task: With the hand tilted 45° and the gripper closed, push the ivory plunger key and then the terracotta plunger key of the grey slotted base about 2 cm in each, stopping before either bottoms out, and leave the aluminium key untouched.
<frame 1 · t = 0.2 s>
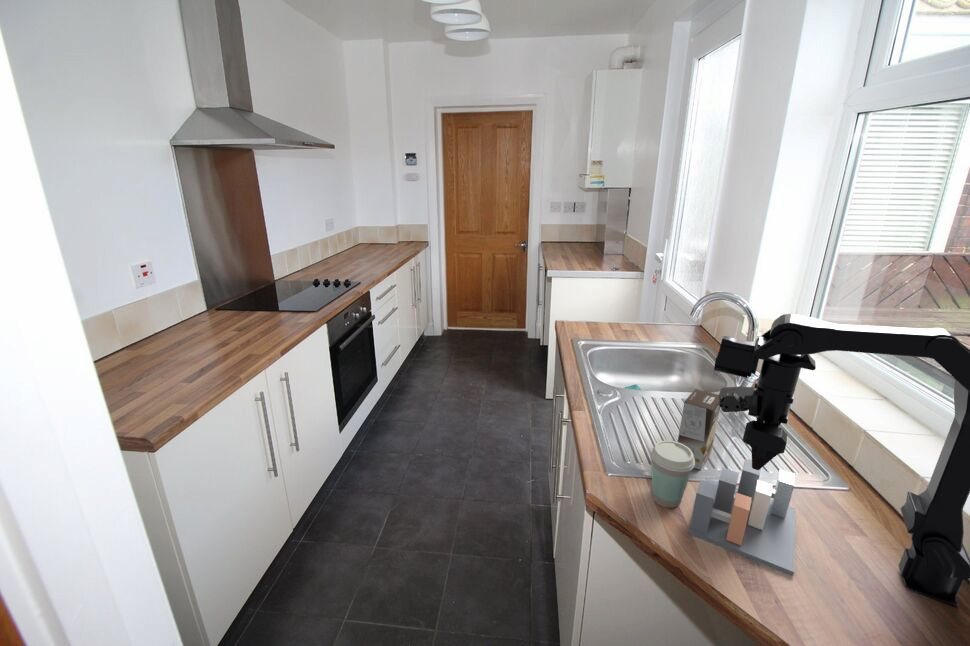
hand: (757, 456, 86), 15 cm above the worktop, tool pointing down, fingers open, 9 cm apart
grey slotted base: (743, 522, 89), on the worktop
ivory key: (746, 500, 88), point 5 cm above the worktop, slide at 0.0 cm
coffee box: (693, 457, 110), on the worktop
coffee cup: (665, 498, 96), on the worktop
terracotta key: (725, 513, 84), point 5 cm above the worktop, slide at 0.0 cm
aluminium key: (769, 489, 91), point 5 cm above the worktop, slide at 0.0 cm
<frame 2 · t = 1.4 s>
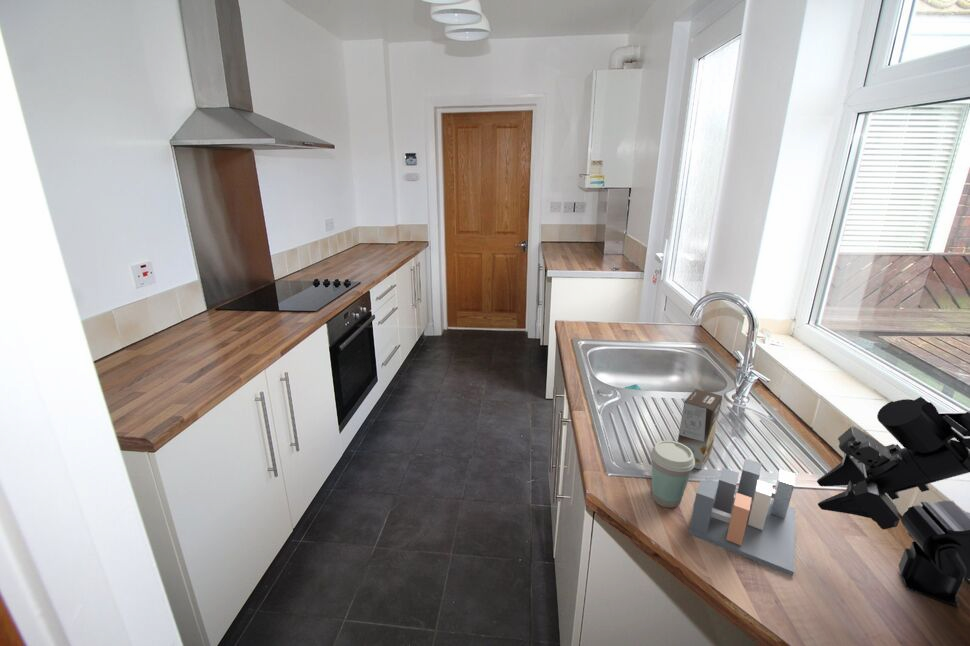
hand: (818, 494, 80), 11 cm above the worktop, tool tilted 45°, fingers open, 7 cm apart
nothing on the worktop moved.
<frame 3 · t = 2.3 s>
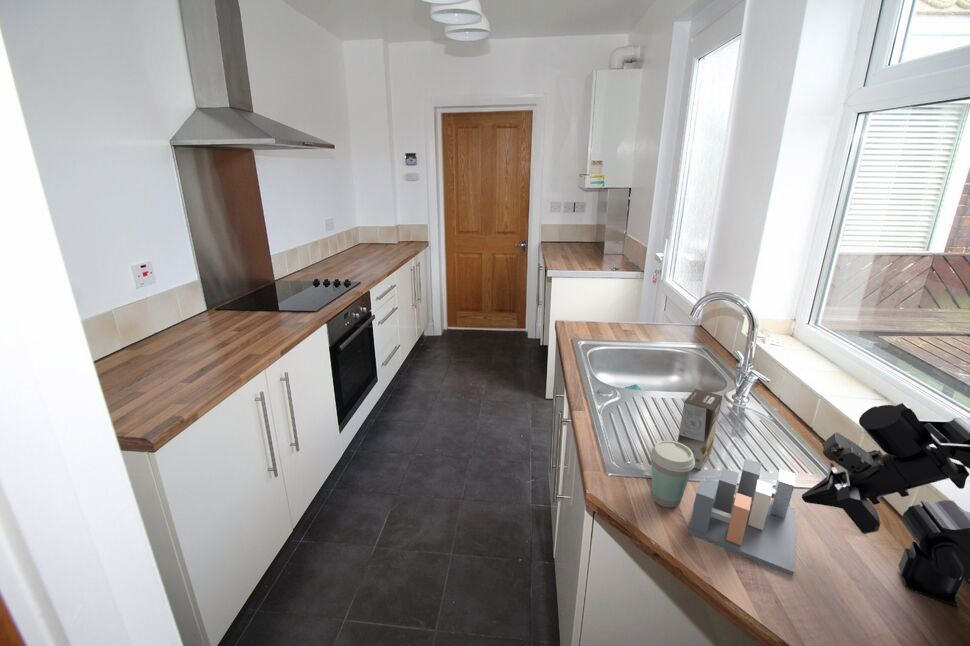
hand: (803, 498, 82), 10 cm above the worktop, tool tilted 45°, fingers closed
nothing on the worktop moved.
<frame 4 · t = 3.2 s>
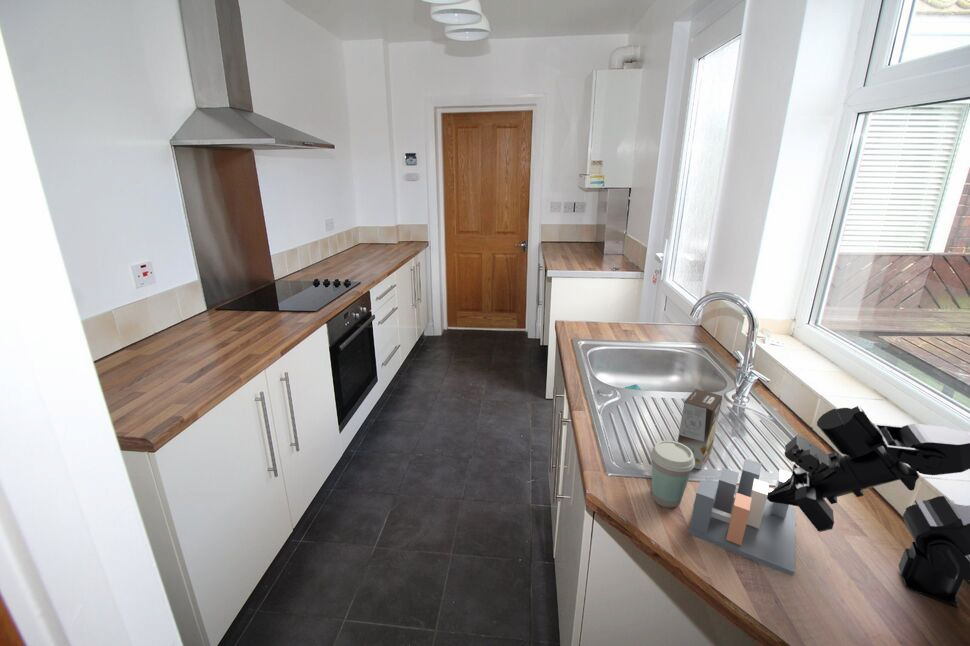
hand: (767, 498, 85), 7 cm above the worktop, tool tilted 45°, fingers closed, pressing on ivory key
ivory key: (743, 498, 88), point 5 cm above the worktop, slide at 0.6 cm, touching gripper
everything else where it was.
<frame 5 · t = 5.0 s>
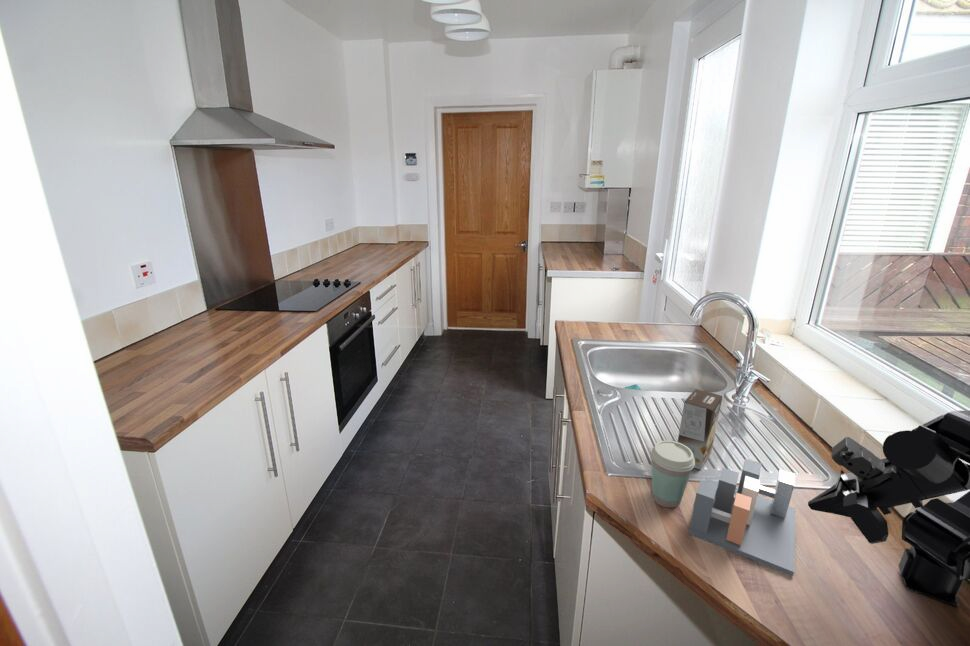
hand: (809, 505, 78), 11 cm above the worktop, tool tilted 45°, fingers closed
ivory key: (735, 495, 89), point 5 cm above the worktop, slide at 2.1 cm
everything else where it was.
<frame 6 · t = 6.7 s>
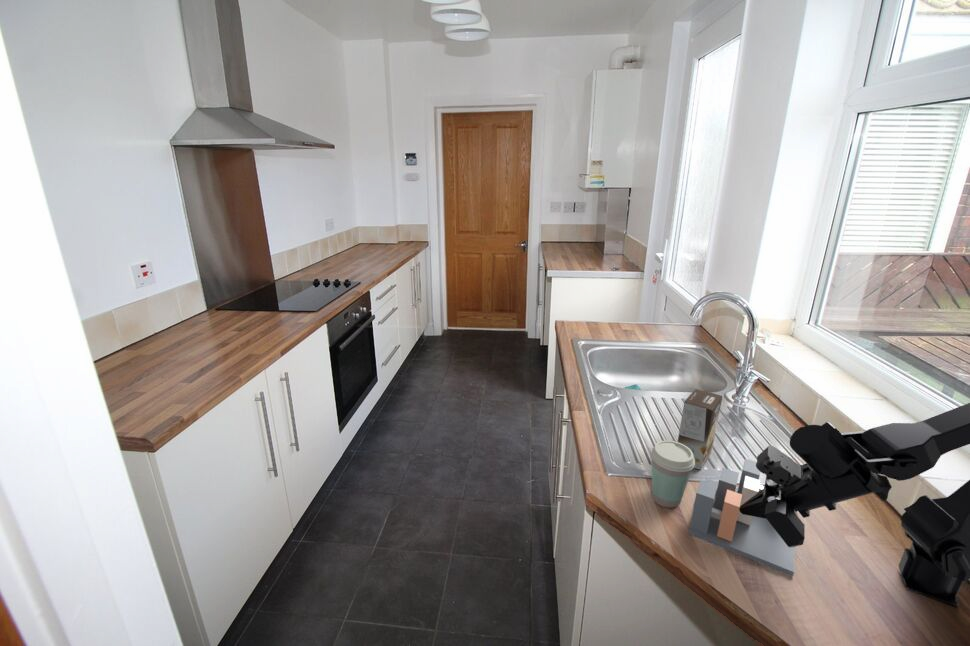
hand: (740, 510, 82), 7 cm above the worktop, tool tilted 45°, fingers closed, pressing on terracotta key
terracotta key: (716, 510, 85), point 5 cm above the worktop, slide at 1.6 cm, touching gripper
everything else where it was.
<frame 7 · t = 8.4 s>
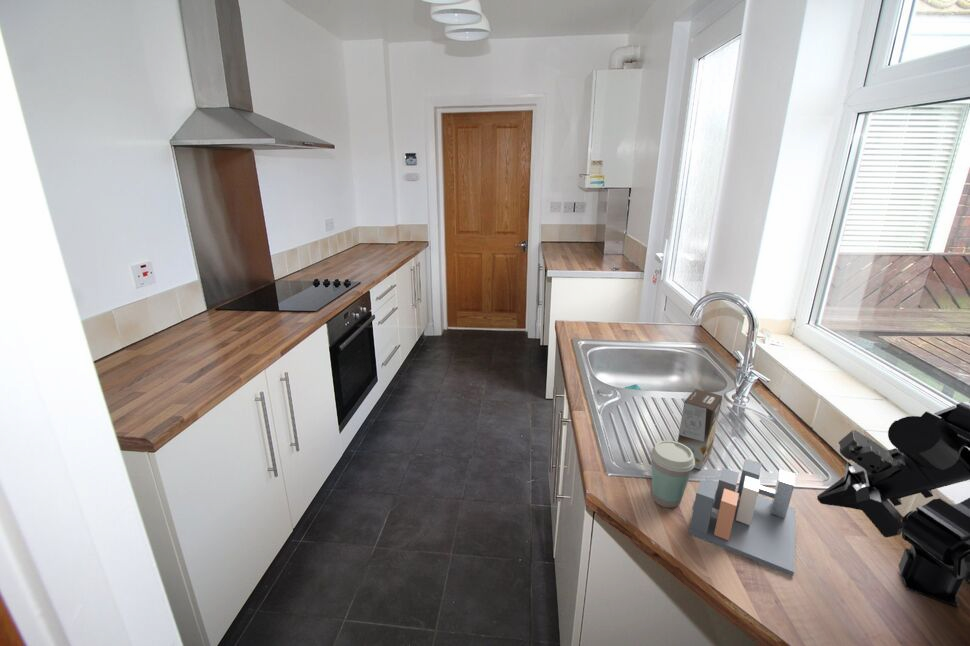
hand: (818, 500, 78), 12 cm above the worktop, tool tilted 45°, fingers closed
terracotta key: (713, 509, 85), point 5 cm above the worktop, slide at 2.1 cm
everything else where it was.
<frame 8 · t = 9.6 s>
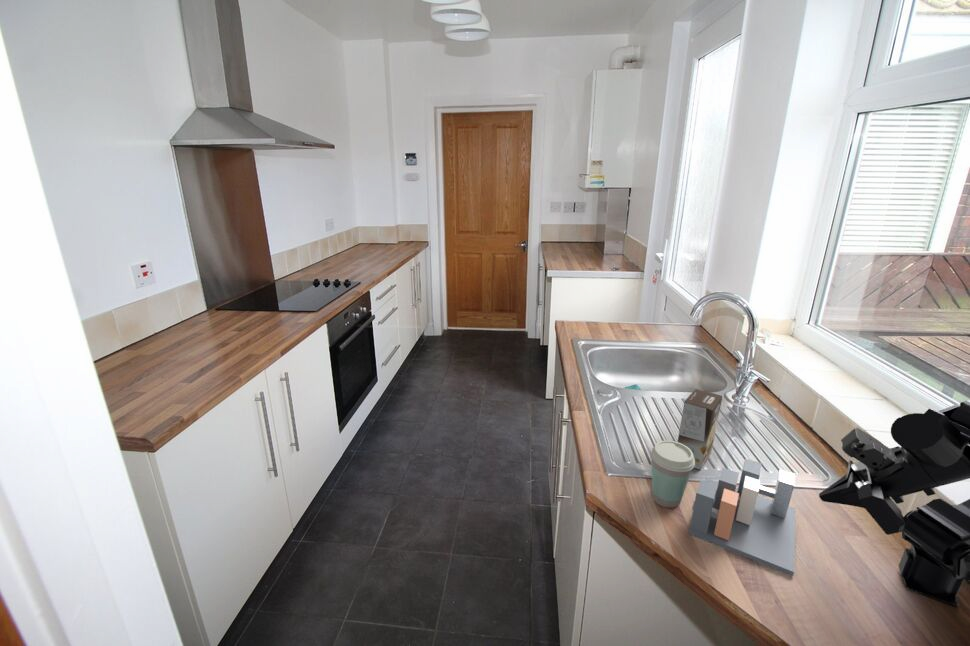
hand: (820, 497, 78), 13 cm above the worktop, tool tilted 45°, fingers closed
nothing on the worktop moved.
at the end: ivory key slide at 2.1 cm; terracotta key slide at 2.1 cm; aluminium key slide at 0.0 cm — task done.
